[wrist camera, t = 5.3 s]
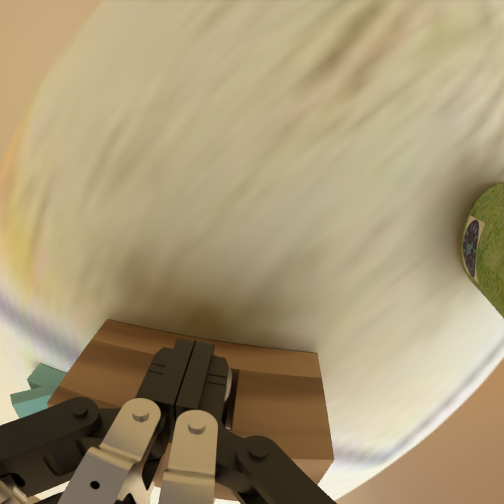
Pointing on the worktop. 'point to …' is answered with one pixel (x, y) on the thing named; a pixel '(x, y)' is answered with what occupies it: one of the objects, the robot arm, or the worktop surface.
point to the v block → (37, 391)
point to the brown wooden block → (240, 399)
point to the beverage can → (486, 245)
